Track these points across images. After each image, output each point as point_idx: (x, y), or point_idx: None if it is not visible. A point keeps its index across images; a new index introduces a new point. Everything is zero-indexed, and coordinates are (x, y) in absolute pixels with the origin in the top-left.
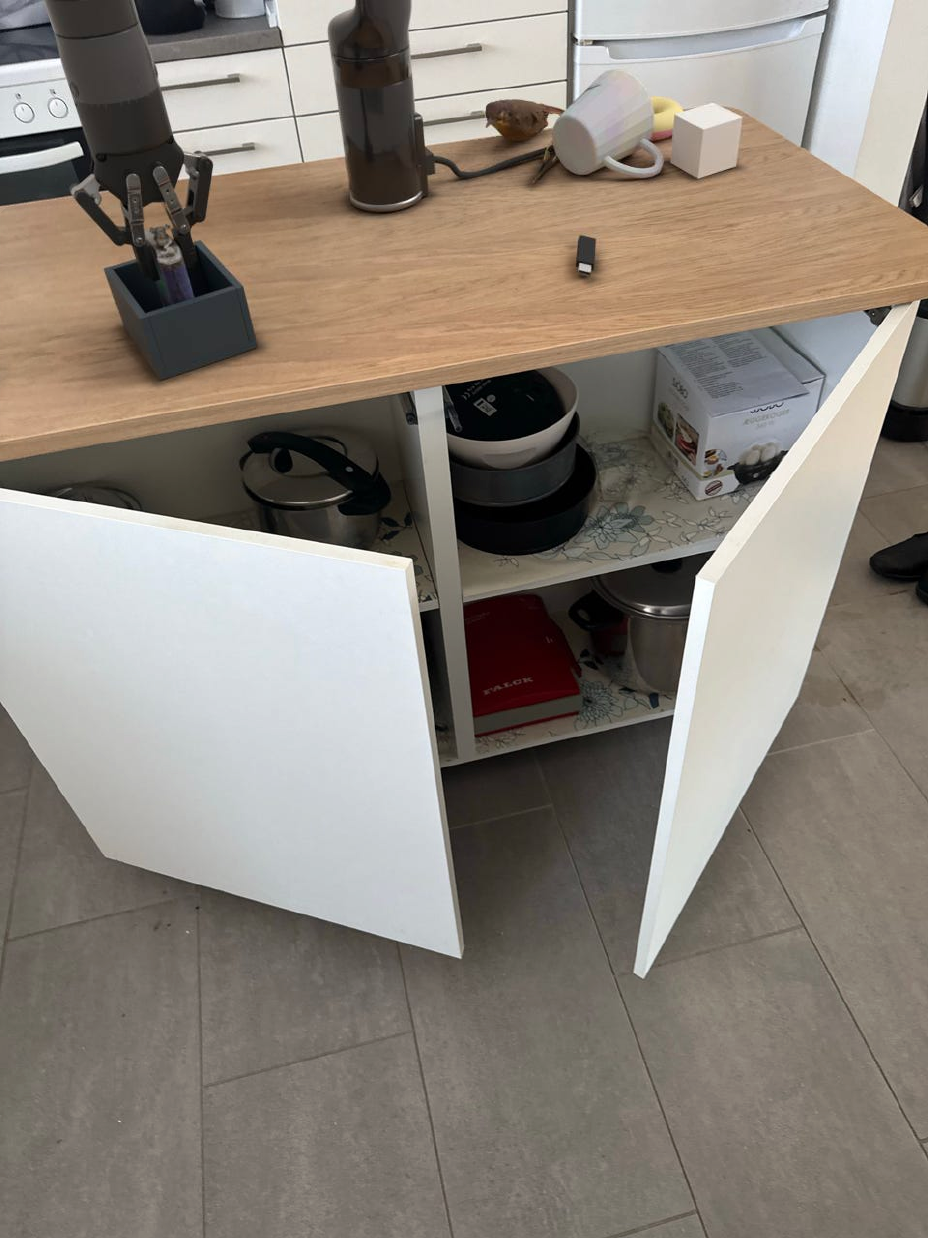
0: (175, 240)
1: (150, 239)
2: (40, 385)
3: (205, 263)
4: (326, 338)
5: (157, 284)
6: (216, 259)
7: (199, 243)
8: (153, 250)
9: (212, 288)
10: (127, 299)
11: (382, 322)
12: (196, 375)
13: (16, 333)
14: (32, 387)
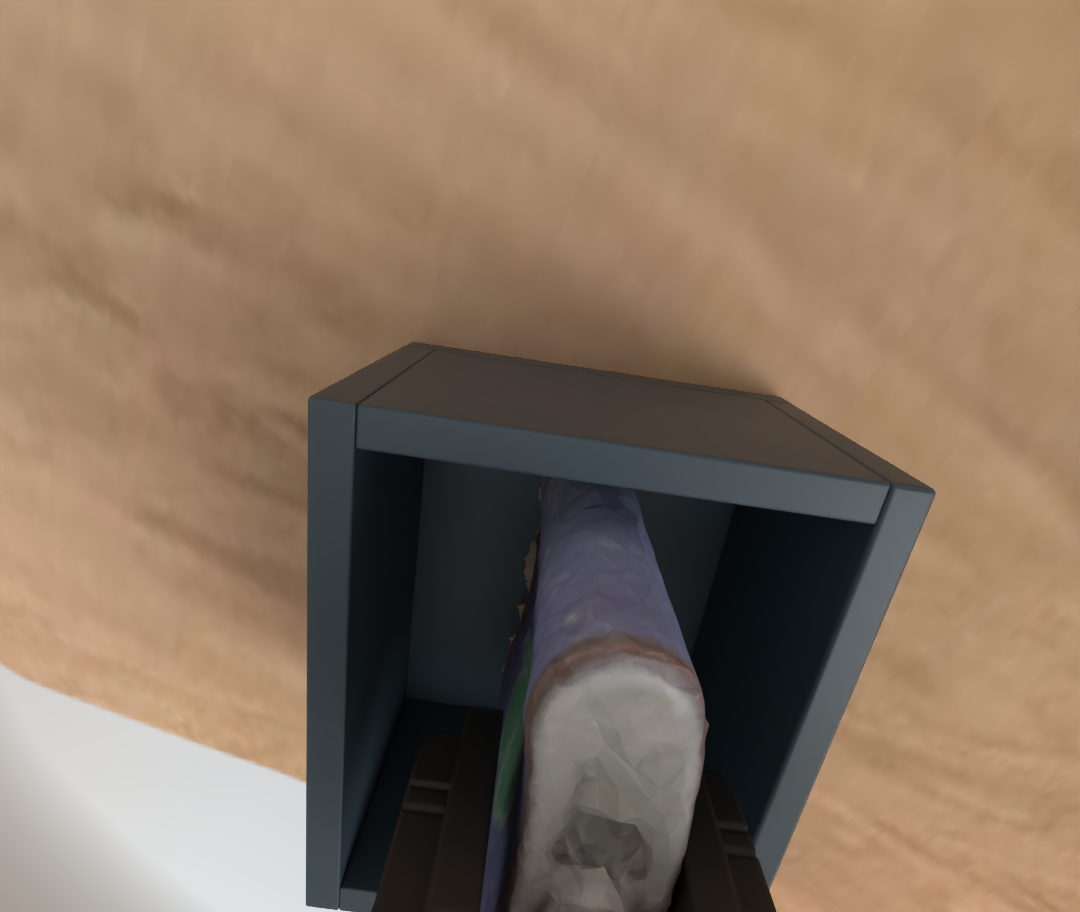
0: (674, 898)
1: (554, 803)
2: (65, 482)
3: (807, 585)
4: (838, 810)
5: (538, 556)
6: (823, 740)
7: (897, 530)
8: (513, 861)
9: (758, 531)
10: (312, 769)
11: (993, 843)
12: None
13: (3, 20)
14: (40, 475)
